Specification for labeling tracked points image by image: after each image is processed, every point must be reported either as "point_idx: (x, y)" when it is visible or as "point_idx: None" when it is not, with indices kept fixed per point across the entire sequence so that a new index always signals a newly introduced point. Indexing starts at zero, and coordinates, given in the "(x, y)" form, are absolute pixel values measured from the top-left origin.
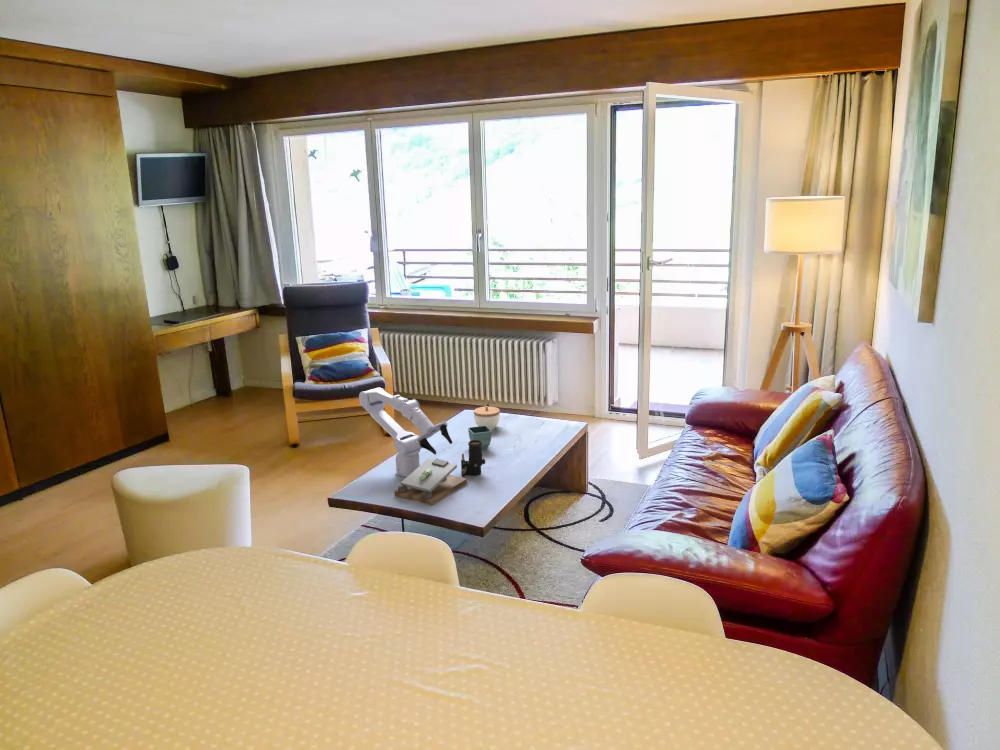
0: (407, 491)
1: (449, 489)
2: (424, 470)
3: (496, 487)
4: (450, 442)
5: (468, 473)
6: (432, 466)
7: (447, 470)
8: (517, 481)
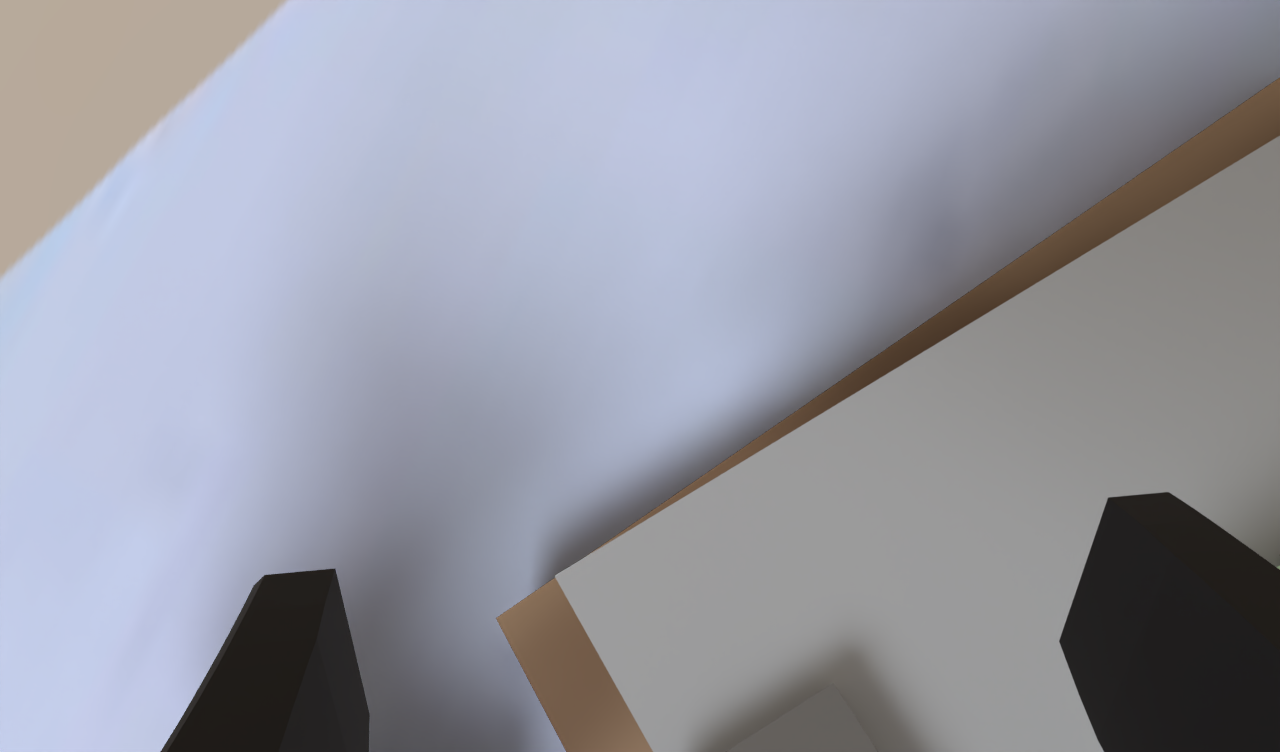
0: None
1: (900, 340)
2: None
3: (278, 313)
4: (348, 654)
5: None
6: None
7: (821, 484)
8: (15, 372)
